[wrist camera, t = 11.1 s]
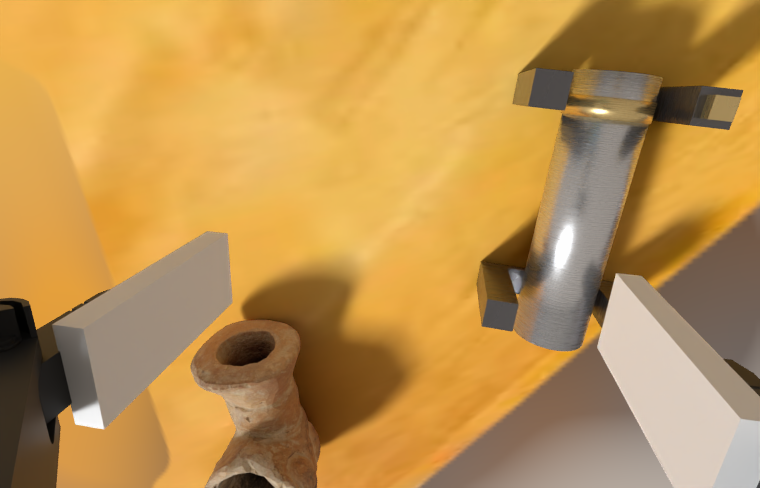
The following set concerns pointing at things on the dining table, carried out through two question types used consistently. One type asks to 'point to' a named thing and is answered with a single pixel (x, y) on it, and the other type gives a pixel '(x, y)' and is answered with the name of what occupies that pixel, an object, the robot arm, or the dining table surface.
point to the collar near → (672, 102)
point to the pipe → (259, 406)
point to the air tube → (583, 203)
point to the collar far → (501, 299)
